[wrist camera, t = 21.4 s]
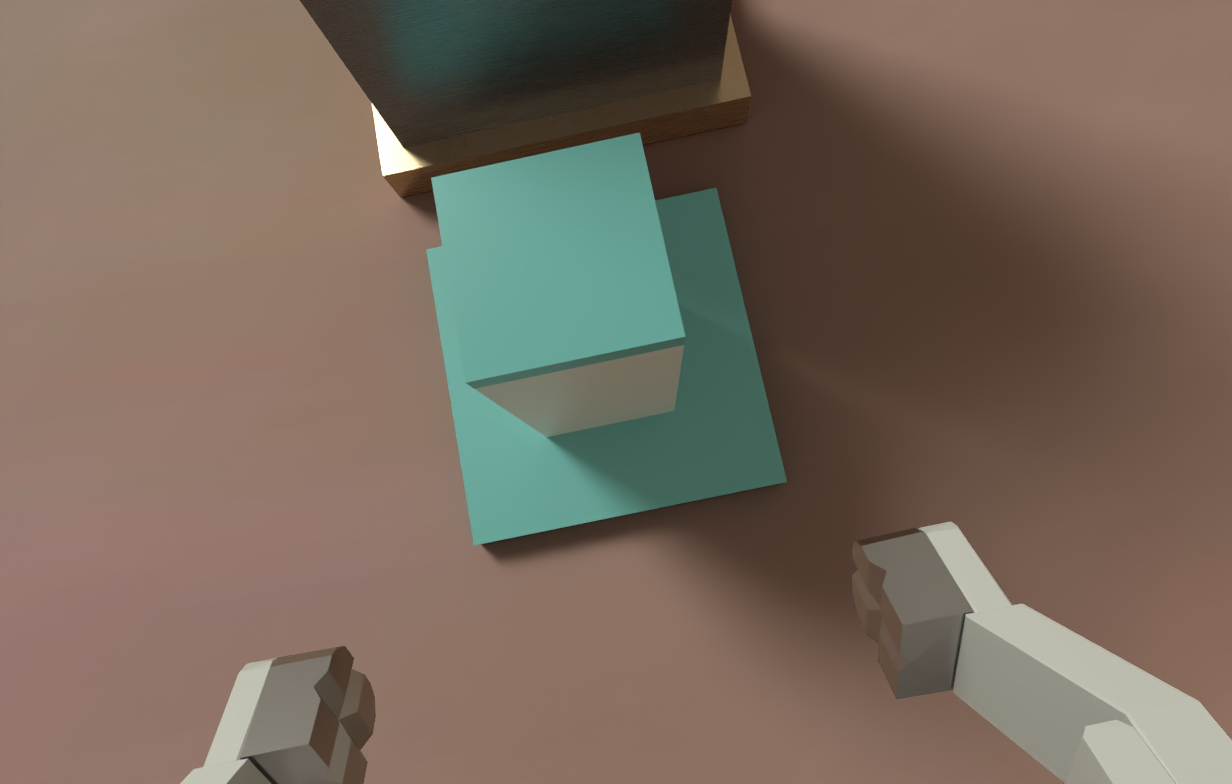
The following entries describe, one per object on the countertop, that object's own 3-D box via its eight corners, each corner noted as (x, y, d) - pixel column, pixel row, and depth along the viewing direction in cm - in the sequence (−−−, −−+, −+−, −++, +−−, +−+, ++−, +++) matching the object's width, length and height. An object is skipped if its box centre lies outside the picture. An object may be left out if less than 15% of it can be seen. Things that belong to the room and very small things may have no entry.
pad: (480, 544, 28) (473, 545, 27) (433, 258, 30) (426, 249, 29) (782, 482, 28) (787, 482, 27) (714, 198, 30) (716, 187, 29)
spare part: (546, 437, 28) (465, 383, 16) (524, 314, 28) (431, 178, 17) (674, 411, 27) (685, 336, 16) (647, 288, 28) (639, 132, 17)
